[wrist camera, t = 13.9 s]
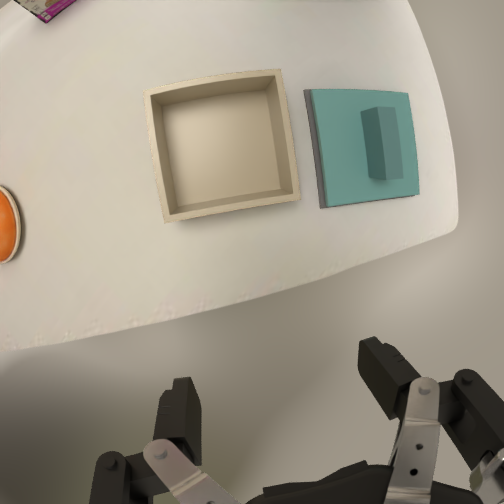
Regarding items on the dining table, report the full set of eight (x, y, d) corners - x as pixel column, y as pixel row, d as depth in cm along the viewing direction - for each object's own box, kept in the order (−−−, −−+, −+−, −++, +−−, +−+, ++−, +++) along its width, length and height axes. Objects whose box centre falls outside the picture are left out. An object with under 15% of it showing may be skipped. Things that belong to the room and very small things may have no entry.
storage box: (268, 85, 36) (280, 68, 28) (285, 192, 41) (300, 199, 33) (156, 104, 35) (142, 90, 27) (174, 212, 39) (164, 223, 32)
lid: (401, 95, 37) (426, 88, 31) (412, 192, 42) (438, 198, 36) (307, 92, 36) (324, 80, 29) (323, 204, 41) (342, 212, 35)
